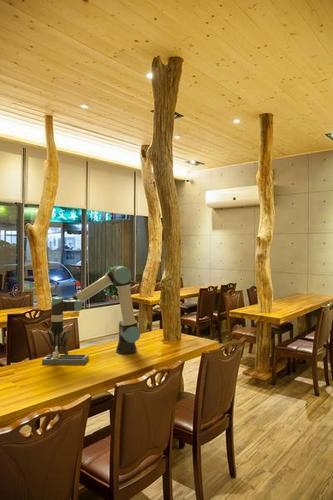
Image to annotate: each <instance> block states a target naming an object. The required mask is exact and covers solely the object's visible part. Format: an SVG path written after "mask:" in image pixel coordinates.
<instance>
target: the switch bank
mask: <svg viewBox="0 0 333 500" xmlns="http://www.w3.org/2000/svg"><path fill="white" fill-rule="evenodd" d="M51 358H53V354H47V355H46V356H45V357H43V358H42V360H41V362H42V363H41V364H42V365H85V364H86V363H88V360H89V358H90V354H65V355H61V357H56V358H58V359H51Z"/></svg>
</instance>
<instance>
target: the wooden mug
mask: <svg viewBox="0 0 333 500" xmlns="http://www.w3.org/2000/svg"><path fill="white" fill-rule="evenodd" d="M66 331H67V333H66V334H65V338H64V342H63V345H62V346H60V351H59V354H65V355H68V354H69V349H68V343H69V342H68V341H69V340H68V338H69V337H70V336H71V334H72V331H71V330H66ZM61 340H62V337H61V336H60V344H61ZM56 346H58V338H57V345H56ZM67 353H68V354H67Z"/></svg>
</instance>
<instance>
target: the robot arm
mask: <svg viewBox="0 0 333 500" xmlns="http://www.w3.org/2000/svg"><path fill="white" fill-rule="evenodd" d="M110 285H112V286H113V285H114V287H115V288H116V289H117V293H118V299H119V305H120V312H121V318H122V319H121V320H119V322H118V342H117V346H116V347H115V348H116V353H118V354H121V355H129V354H130V355H132V354H134V353H135V354H136V352H137V349H138V348H137V346H136V342H138V340H140V338H141V334H142V333H141V330H140V328H139V324H138V320H136V319H135V311H134V308H133V307H134V306H133V299H132V293H131V285H132V272H131V270H130V268H128V267H126V266H123V265H117V266H114V267H113V268H112V269H111V270H109V271H108V272H106V273H105V275H104V276H102V277H101V278H99V279H98V280H96V281H94V282H92V284H90V285H88V286H87V287H84V288H83V289H82V290H80V291H79V292H77V293H75V294H73V295H72V296H71V297H68V298H67V299H66V300H64V297H61V296H60V297H58V296H57V297H52V298H51V306H50V307H51V310H50V311H51V318H50V319H51V320H50V321H51V325H50V329H49V330H48V331H47V332H46V333H47V335H48V338H49V344H50V346H51V347H53V352H55V357H58V356H59V351H60V346H62V345H63V342H64V338H65V334H66V333H67V331H68V330H65V328H64V312H66V313H67V312H80V311H82V303H84V302H85V301H87V300H89V299H90V298H91V297H93V296H94V295H96V294H98V293H99V292H101V291H102V290H104V289H105V288H107V287H108V286H110ZM52 334H53V335H52ZM61 334H62V340H61V344H60V337H61ZM57 339H58V346H57Z"/></svg>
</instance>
